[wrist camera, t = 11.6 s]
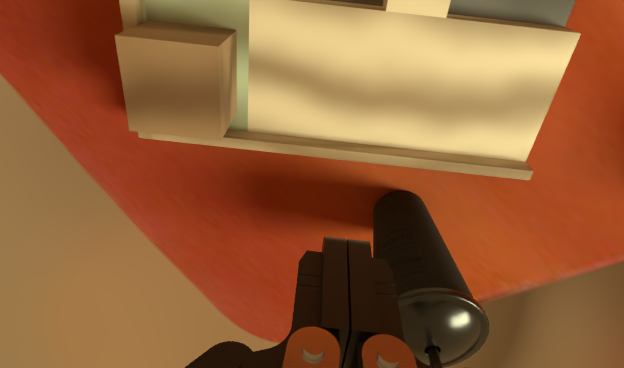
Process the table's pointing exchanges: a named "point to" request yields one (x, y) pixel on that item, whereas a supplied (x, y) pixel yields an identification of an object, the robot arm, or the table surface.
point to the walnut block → (179, 78)
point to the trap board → (387, 77)
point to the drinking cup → (427, 283)
